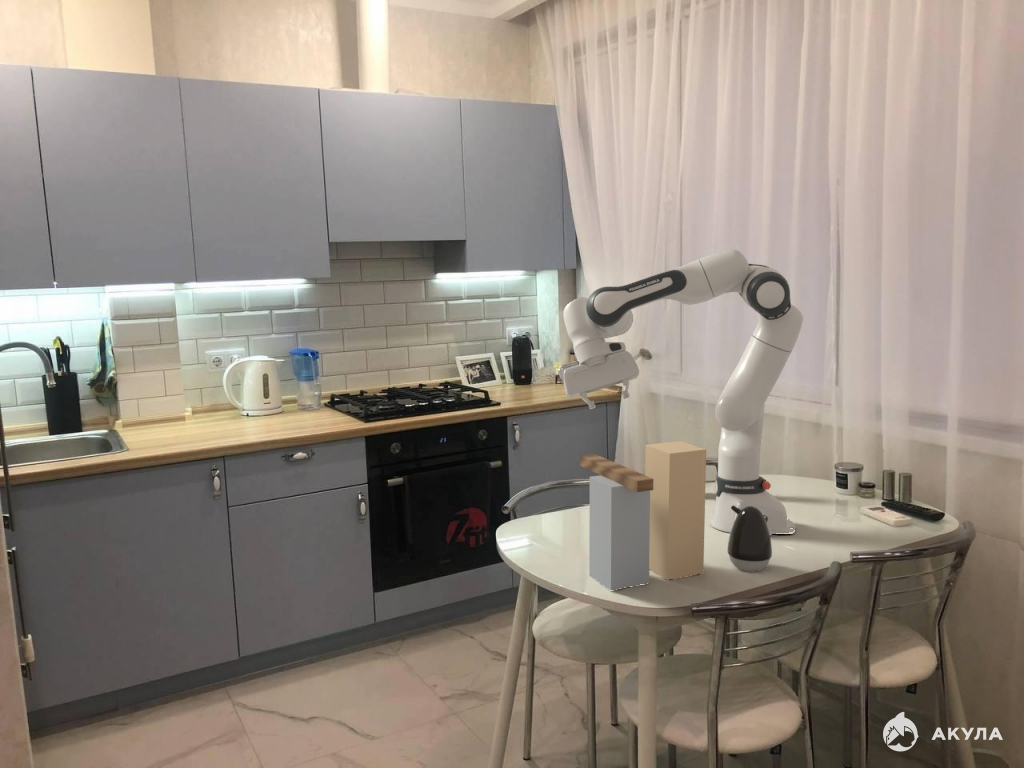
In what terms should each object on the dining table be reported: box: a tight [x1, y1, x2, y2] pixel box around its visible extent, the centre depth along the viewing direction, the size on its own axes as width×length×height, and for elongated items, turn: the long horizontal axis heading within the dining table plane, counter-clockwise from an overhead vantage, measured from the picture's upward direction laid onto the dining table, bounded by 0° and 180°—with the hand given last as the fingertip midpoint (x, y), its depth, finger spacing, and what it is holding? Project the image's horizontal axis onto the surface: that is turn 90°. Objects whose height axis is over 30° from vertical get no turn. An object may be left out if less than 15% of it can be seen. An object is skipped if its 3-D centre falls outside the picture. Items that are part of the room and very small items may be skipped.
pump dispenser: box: [727, 505, 773, 573], centre depth 194 cm, size 10×10×15 cm
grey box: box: [588, 474, 650, 591], centre depth 187 cm, size 10×10×24 cm
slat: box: [579, 453, 653, 492], centre depth 187 cm, size 26×4×2 cm, turn 23°
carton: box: [644, 440, 707, 581], centre depth 192 cm, size 10×10×30 cm
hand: (609, 403), depth 214 cm, fingers open, 8 cm apart
